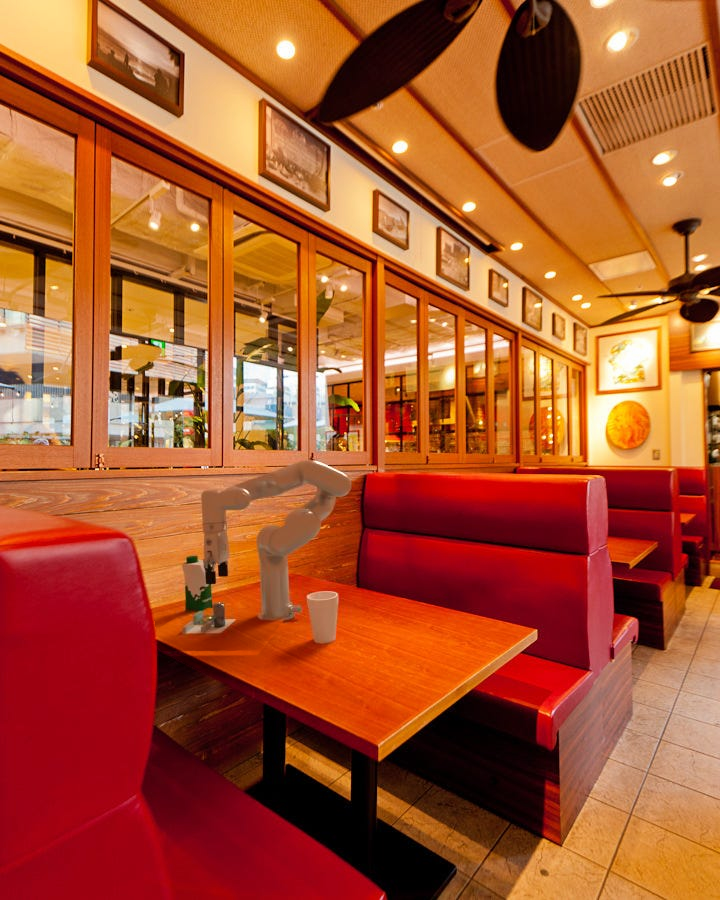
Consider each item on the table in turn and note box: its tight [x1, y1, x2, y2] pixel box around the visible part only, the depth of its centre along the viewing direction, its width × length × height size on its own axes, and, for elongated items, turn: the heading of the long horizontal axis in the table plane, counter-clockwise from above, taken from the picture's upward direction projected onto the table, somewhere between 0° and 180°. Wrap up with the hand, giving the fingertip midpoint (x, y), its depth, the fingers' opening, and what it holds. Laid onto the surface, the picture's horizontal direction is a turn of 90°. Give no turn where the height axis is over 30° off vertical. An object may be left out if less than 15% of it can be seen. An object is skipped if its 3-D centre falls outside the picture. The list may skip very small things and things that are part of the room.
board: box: [180, 610, 236, 635], centre depth 161 cm, size 13×13×4 cm
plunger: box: [201, 614, 212, 622], centre depth 166 cm, size 4×4×1 cm
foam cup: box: [306, 590, 340, 644], centre depth 147 cm, size 10×9×13 cm
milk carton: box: [181, 555, 214, 612], centre depth 183 cm, size 9×9×20 cm
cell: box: [212, 601, 226, 628], centre depth 161 cm, size 4×4×8 cm
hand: (217, 580), depth 161 cm, fingers open, 9 cm apart
